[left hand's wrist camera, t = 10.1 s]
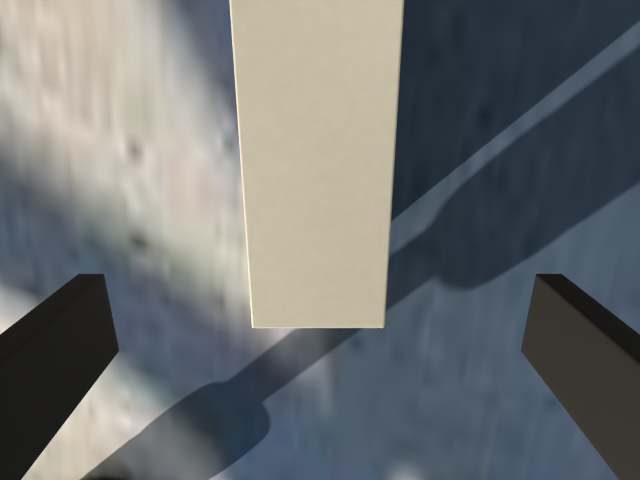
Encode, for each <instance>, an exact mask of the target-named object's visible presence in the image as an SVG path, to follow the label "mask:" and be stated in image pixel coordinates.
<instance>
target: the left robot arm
mask: <svg viewBox="0 0 640 480" xmlns="http://www.w3.org/2000/svg"><path fill="white" fill-rule="evenodd" d="M118 351H119V348H118V343H117V338H116V333H115V328H114V323H113V318H112V313H111V308H110V303H109V298H108V293H107V288H106V283H105V278H104V274H78V275H77V276H75V277H74V278H73V279H71V280H70V281H69V282H68V283H66V284H65V285H64V286H62V287H61V288H60V289H59V290H57V291H56V292H55V293H53V294H52V295H51V296H50V297H48V298H47V299H46V300H44V301H43V302H42V303H40V304H39V305H38V306H37V307H35V308H34V309H33V310H31V311H30V312H29V313H28V314H26V315H25V316H24V317H22V318H21V319H20V320H19V321H17V322H16V323H15V324H13V325H12V326H11V327H10V328H8V329H7V330H6V331H4V332H3V333H2V334H1V335H0V480H21V479H22V478H23V476H24V475H25V474H26V472H27V471H28V470H29V468H30V467H31V466H32V464H33V463H34V462H35V461H36V459H37V458H38V457H39V455H40V454H41V453H42V451H43V450H44V449H45V447H46V446H47V445H48V443H49V442H50V441H51V440H52V438H53V437H54V436H55V434H56V433H57V432H58V430H59V429H60V428H61V426H62V425H63V424H64V422H65V421H66V420H67V419H68V417H69V416H70V415H71V413H72V412H73V411H74V409H75V408H76V407H77V405H78V404H79V403H80V401H81V400H82V399H83V397H84V396H85V395H86V394H87V392H88V391H89V390H90V388H91V387H92V386H93V384H94V383H95V382H96V380H97V379H98V378H99V376H100V375H101V374H102V373H103V371H104V370H105V369H106V367H107V366H108V365H109V363H110V362H111V361H112V359H113V358H114V357H115V355H116V354H117V353H118ZM521 351H522V353H523V354H524V355H525V357H526V358H527V359H528V361H529V362H530V363H531V365H532V366H533V367H534V369H535V370H536V371H537V373H538V374H539V375H540V376H541V378H542V379H543V380H544V382H545V383H546V384H547V386H548V387H549V388H550V390H551V391H552V392H553V394H554V395H555V396H556V397H557V399H558V400H559V401H560V403H561V404H562V405H563V407H564V408H565V409H566V411H567V412H568V413H569V415H570V416H571V417H572V419H573V420H574V421H575V422H576V424H577V425H578V426H579V428H580V429H581V430H582V432H583V433H584V434H585V436H586V437H587V438H588V440H589V441H590V442H591V443H592V445H593V446H594V447H595V449H596V450H597V451H598V453H599V454H600V455H601V457H602V458H603V459H604V461H605V462H606V463H607V464H608V466H609V467H610V468H611V470H612V471H613V472H614V474H615V475H616V476H617V478H618V479H619V480H640V335H639V334H638V333H637V332H636V331H634V330H633V329H632V328H630V327H629V326H628V325H627V324H625V323H624V322H623V321H621V320H620V319H619V318H618V317H616V316H615V315H614V314H612V313H611V312H610V311H609V310H607V309H606V308H605V307H603V306H602V305H601V304H600V303H598V302H597V301H596V300H594V299H593V298H592V297H590V296H589V295H588V294H587V293H585V292H584V291H583V290H581V289H580V288H579V287H578V286H576V285H575V284H574V283H572V282H571V281H570V280H569V279H567V278H566V277H565V276H563V275H562V274H536V278H535V283H534V288H533V293H532V298H531V303H530V308H529V313H528V318H527V323H526V328H525V333H524V338H523V343H522V348H521Z"/></svg>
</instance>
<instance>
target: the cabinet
mask: <svg viewBox="0 0 640 480" xmlns="http://www.w3.org/2000/svg"><path fill="white" fill-rule="evenodd" d="M403 12H404V0H230V14H231V28H232V43H233V57H234V72H235V86H236V101H237V115H238V130H239V144H240V159H241V173H242V188H243V202H244V217H245V231H246V246H247V260H248V275H249V289H250V304H251V318H252V327H253V328H384V326H385V310H386V294H387V277H388V261H389V244H390V227H391V211H392V194H393V178H394V161H395V144H396V128H397V111H398V95H399V78H400V61H401V45H402V28H403Z"/></svg>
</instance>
